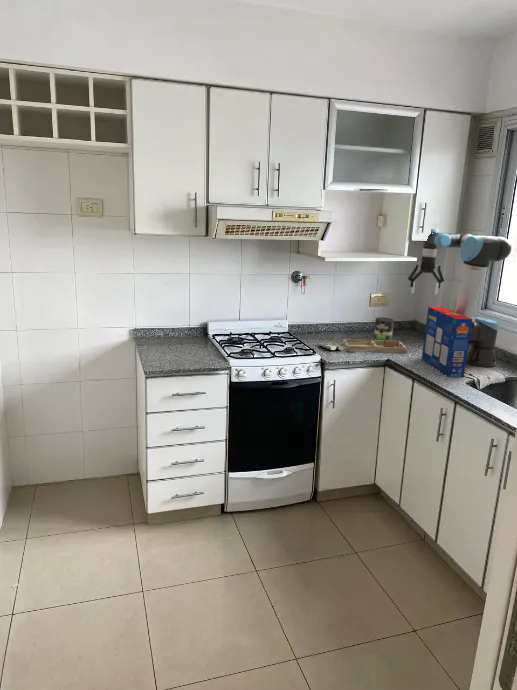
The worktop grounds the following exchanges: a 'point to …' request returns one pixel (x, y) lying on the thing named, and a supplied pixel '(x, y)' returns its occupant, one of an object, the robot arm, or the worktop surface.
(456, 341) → the blue cardboard box
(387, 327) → the coffee can
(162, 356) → the worktop surface
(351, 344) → the wooden organizer
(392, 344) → the walnut cube
